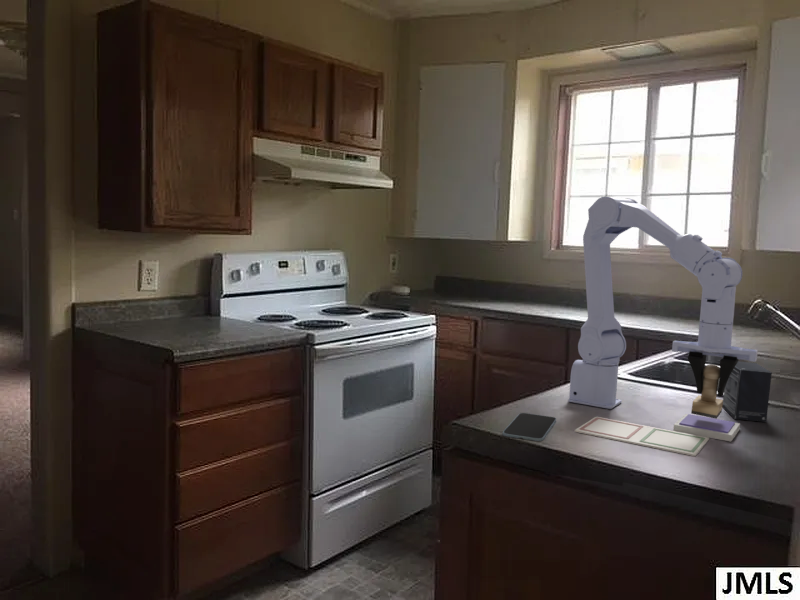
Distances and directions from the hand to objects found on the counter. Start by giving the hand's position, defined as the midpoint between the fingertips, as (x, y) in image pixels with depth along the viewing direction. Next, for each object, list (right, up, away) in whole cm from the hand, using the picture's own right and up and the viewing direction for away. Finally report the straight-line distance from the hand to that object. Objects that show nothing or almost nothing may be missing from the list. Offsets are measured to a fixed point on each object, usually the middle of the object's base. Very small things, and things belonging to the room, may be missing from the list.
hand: (710, 393), depth 131 cm
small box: (+13, -6, +13) cm, 20 cm away
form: (-14, -7, -4) cm, 17 cm away
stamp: (0, -4, +1) cm, 4 cm away
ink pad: (0, -7, +1) cm, 7 cm away
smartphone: (-34, -7, -1) cm, 35 cm away
